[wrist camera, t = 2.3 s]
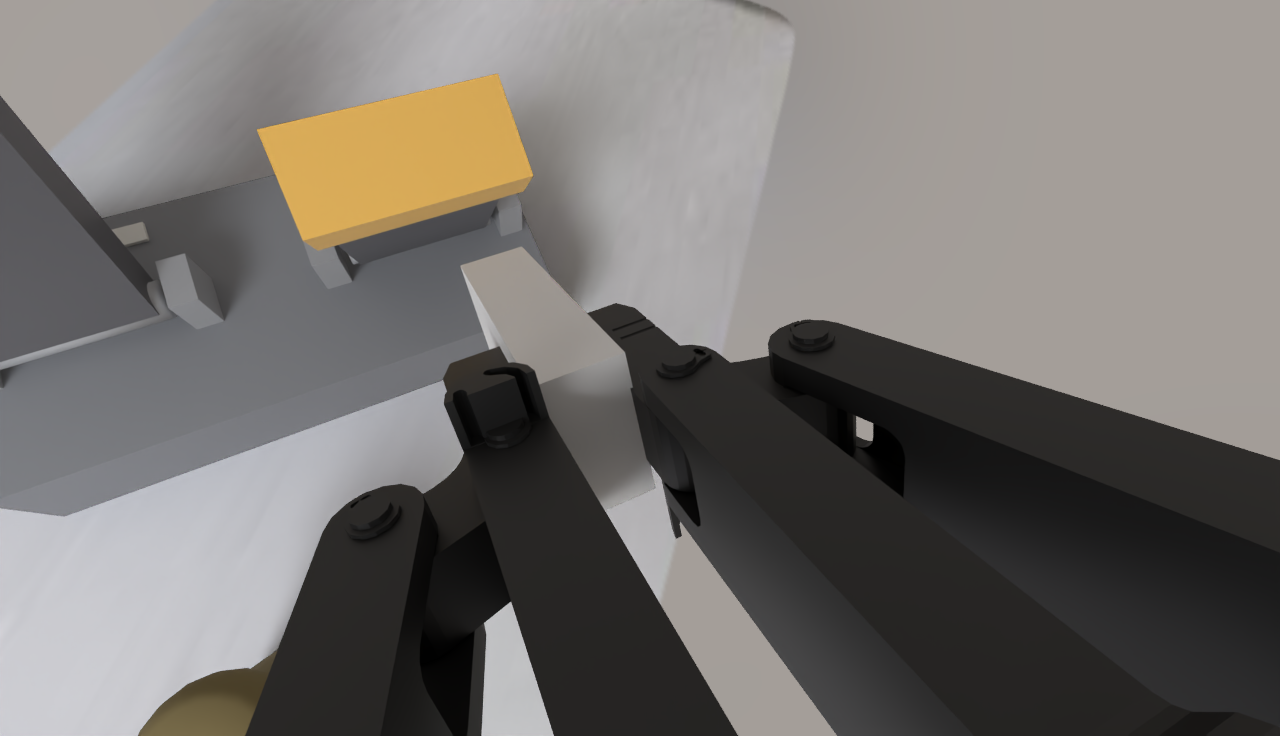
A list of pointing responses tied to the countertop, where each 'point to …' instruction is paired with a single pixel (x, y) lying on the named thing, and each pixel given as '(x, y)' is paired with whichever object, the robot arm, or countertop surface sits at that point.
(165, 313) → the cream lever
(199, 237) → the switch block
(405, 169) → the amber lever
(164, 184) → the countertop surface
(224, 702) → the cork
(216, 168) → the countertop surface
